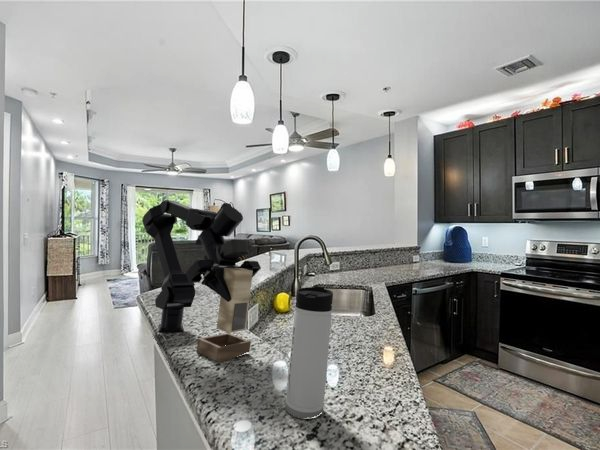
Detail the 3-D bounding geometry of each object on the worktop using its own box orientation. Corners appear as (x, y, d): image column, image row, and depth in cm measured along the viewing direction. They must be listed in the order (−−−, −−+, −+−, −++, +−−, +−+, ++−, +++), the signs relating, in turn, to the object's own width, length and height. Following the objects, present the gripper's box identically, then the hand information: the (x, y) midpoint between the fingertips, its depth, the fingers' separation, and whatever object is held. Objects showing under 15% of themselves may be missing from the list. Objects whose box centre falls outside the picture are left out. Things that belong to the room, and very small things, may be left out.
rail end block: (216, 328, 75) (224, 268, 75) (233, 325, 78) (240, 268, 79) (229, 333, 72) (237, 270, 72) (246, 330, 75) (253, 270, 76)
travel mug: (327, 405, 55) (337, 288, 56) (317, 424, 49) (328, 292, 50) (293, 396, 57) (304, 284, 59) (279, 413, 51) (291, 287, 52)
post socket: (196, 351, 75) (198, 338, 75) (227, 344, 82) (228, 333, 82) (218, 362, 70) (219, 348, 70) (249, 354, 77) (250, 341, 77)
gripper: (200, 222, 72) (224, 279, 64) (260, 231, 86) (286, 278, 79) (176, 254, 76) (197, 311, 69) (237, 257, 91) (260, 304, 83)
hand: (238, 299), depth 75 cm, fingers closed on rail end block, 5 cm apart
